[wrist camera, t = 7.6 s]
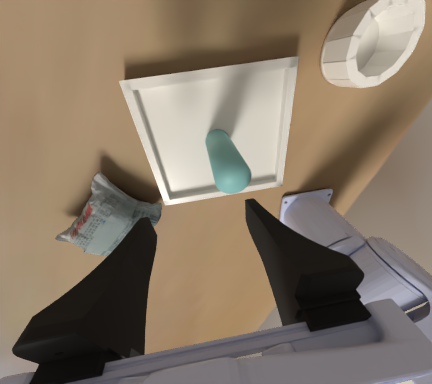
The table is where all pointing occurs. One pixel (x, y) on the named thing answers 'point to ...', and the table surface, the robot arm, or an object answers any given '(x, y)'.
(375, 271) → the robot arm
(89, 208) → the packaged food
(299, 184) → the table surface
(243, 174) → the dowel
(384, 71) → the bowl
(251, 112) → the tray
